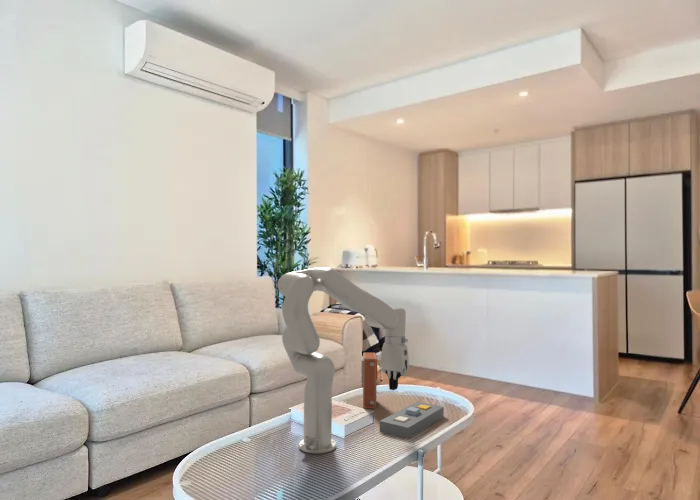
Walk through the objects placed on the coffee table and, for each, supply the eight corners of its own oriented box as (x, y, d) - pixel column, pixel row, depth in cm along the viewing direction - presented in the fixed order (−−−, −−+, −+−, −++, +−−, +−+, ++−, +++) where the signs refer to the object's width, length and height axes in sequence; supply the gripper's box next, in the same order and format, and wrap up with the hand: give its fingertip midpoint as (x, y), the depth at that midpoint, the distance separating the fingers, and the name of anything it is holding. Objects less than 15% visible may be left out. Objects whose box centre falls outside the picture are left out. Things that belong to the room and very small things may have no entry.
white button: (403, 429, 178) (403, 421, 178) (394, 426, 181) (394, 418, 181) (408, 426, 181) (409, 418, 181) (399, 423, 184) (399, 415, 184)
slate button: (415, 419, 186) (415, 411, 186) (406, 417, 188) (406, 409, 188) (420, 416, 189) (420, 408, 189) (410, 414, 191) (411, 406, 191)
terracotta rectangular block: (376, 399, 221) (377, 409, 206) (360, 398, 221) (361, 409, 206) (376, 352, 221) (377, 358, 206) (361, 351, 221) (361, 358, 206)
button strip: (408, 439, 173) (408, 427, 173) (379, 431, 180) (379, 420, 180) (443, 416, 197) (443, 406, 197) (417, 411, 204) (417, 401, 204)
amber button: (425, 416, 193) (425, 408, 193) (416, 414, 195) (416, 406, 195) (430, 413, 196) (430, 406, 196) (421, 411, 198) (421, 404, 198)
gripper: (417, 341, 181) (415, 391, 181) (383, 337, 190) (382, 384, 190) (407, 344, 175) (405, 395, 175) (372, 339, 184) (371, 387, 184)
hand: (393, 389), depth 182 cm, fingers closed
